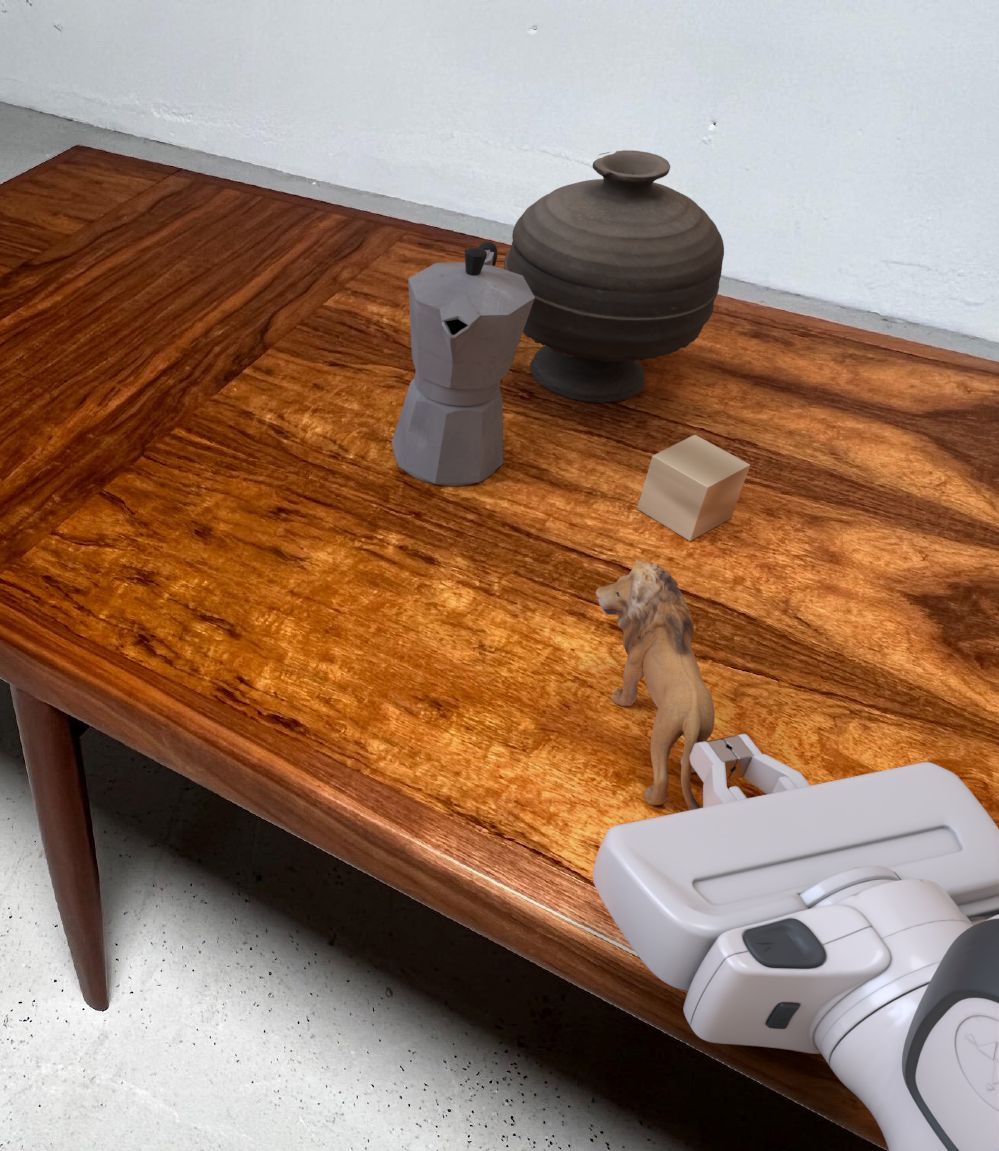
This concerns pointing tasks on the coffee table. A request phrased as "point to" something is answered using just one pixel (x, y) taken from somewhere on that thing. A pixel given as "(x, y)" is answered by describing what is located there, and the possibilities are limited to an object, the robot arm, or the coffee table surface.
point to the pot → (614, 276)
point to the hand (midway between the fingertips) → (715, 745)
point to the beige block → (692, 487)
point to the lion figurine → (661, 668)
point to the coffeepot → (460, 367)
